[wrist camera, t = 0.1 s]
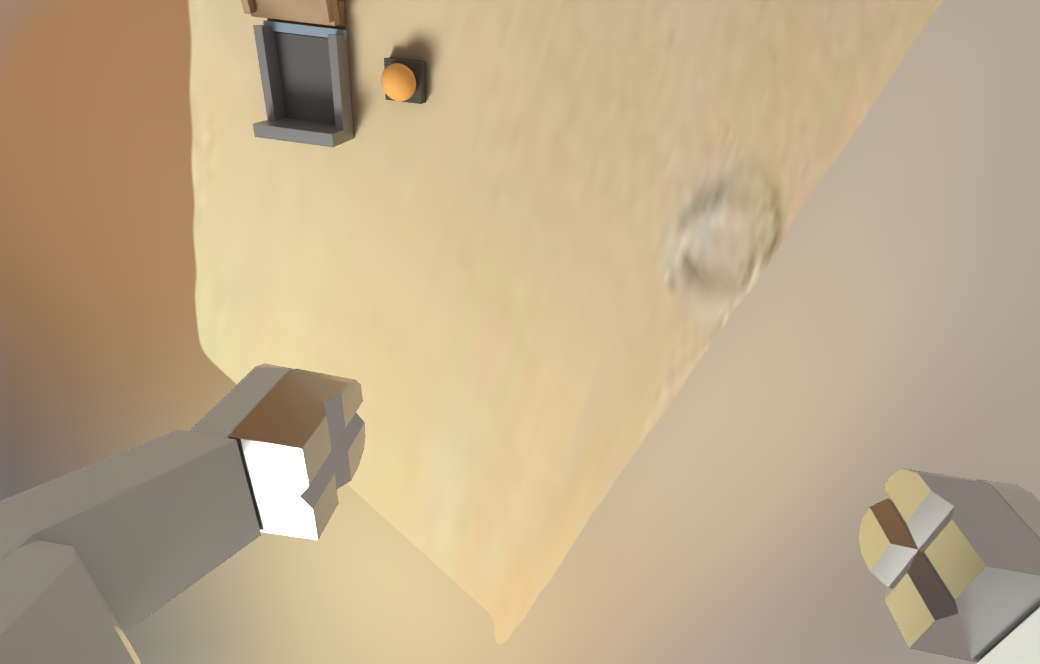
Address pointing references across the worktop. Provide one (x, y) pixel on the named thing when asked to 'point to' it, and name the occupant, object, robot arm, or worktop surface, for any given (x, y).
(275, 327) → the worktop surface
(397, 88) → the ball
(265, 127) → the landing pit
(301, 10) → the launch ramp
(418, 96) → the square nut
